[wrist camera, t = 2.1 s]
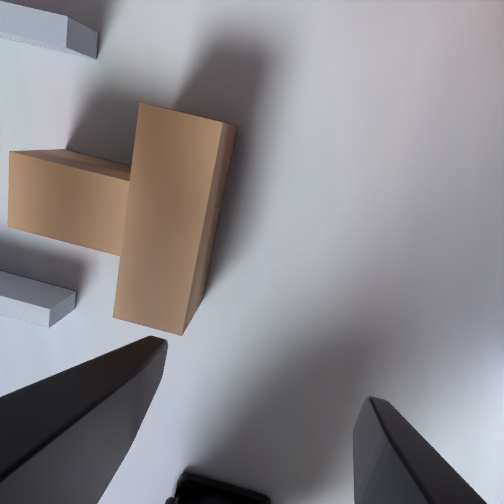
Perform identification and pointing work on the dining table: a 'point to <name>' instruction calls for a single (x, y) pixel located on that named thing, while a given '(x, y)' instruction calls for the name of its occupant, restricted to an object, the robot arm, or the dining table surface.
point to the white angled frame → (70, 41)
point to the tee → (136, 210)
